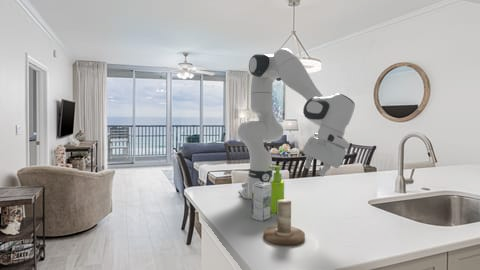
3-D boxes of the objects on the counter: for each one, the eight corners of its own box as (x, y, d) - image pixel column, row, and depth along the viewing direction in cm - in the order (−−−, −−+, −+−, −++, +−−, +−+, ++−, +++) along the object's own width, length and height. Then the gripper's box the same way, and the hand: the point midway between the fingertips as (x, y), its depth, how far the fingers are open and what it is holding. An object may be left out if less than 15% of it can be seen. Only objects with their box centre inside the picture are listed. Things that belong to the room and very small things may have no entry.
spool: (271, 230, 106) (271, 199, 105) (287, 228, 108) (287, 198, 107) (280, 237, 100) (280, 204, 99) (297, 234, 102) (297, 202, 101)
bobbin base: (256, 232, 108) (256, 228, 108) (290, 227, 113) (290, 223, 113) (275, 248, 95) (275, 244, 95) (313, 242, 100) (313, 237, 100)
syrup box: (259, 215, 127) (259, 181, 126) (271, 218, 123) (271, 183, 122) (251, 218, 122) (251, 183, 121) (263, 222, 119) (263, 185, 118)
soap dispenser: (265, 210, 133) (266, 165, 132) (279, 208, 136) (280, 164, 135) (271, 214, 128) (272, 167, 127) (286, 212, 130) (286, 166, 129)
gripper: (307, 129, 119) (293, 161, 120) (339, 139, 100) (322, 177, 101) (319, 135, 121) (305, 166, 122) (353, 145, 102) (336, 183, 103)
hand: (313, 171), depth 111 cm, fingers open, 8 cm apart
